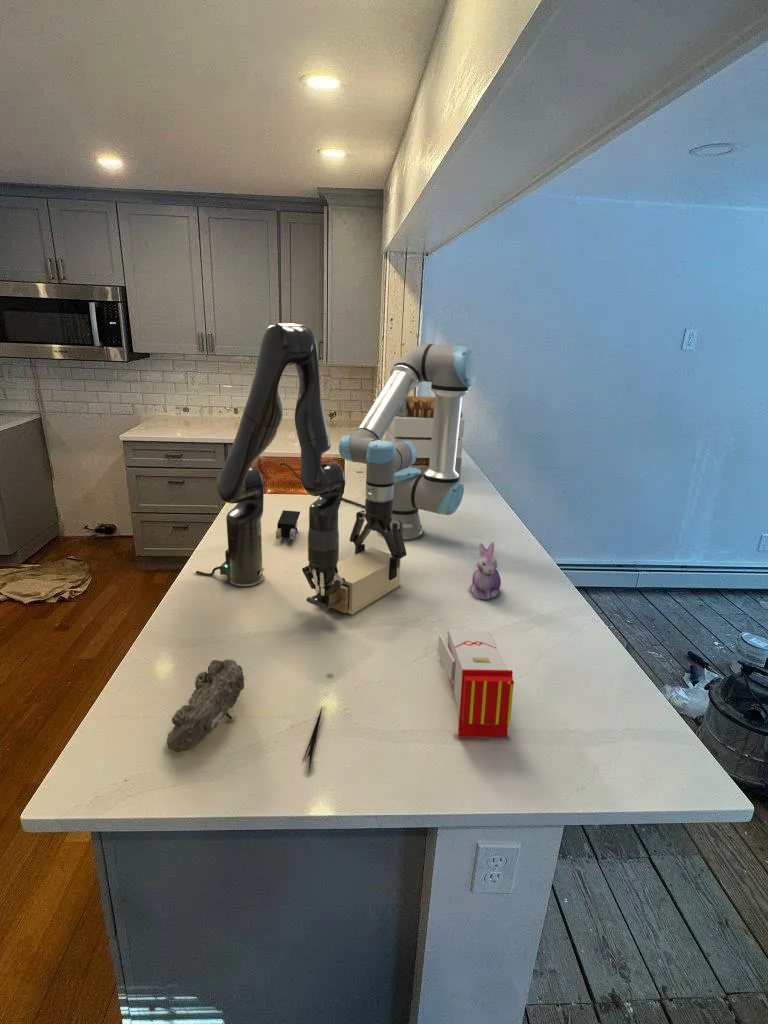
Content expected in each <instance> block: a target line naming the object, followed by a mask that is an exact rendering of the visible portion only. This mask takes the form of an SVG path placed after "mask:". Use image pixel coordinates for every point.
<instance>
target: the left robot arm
mask: <svg viewBox="0 0 768 1024" xmlns="http://www.w3.org/2000/svg"><path fill="white" fill-rule="evenodd" d="M318 354H319V353H318V346H317V341H316V337H315V334H314V332H313V330H312V328H311V327H310V326H308V325H307V324H304V323H301V322H299V323H298V322H275V323H272V324H270V325H269V326H268V327H267V329H266V330H265V332H264V334H263V337H262V340H261V344H260V349H259V352H258V358H257V363H256V369H255V373H254V377H253V380H252V384H251V386H250V387H251V388H250V391H249V394H248V398H247V401H246V403H245V406H244V408H243V412H242V414H241V418H240V421H239V426H238V429H237V432H236V434H235V438H234V440H233V442H232V446H231V448H230V451H229V453H228V455H227V458H226V460H225V462H224V463H223V466H222V468H221V471H220V474H219V475H218V479H217V493H218V495H219V497H220V499H221V500H222V501H223V502H224V503H226V504H236V505H235V506H234V507H233V508H232V509H231V510H229V511H228V513H227V514H226V520H225V521H226V536H227V549H226V550H225V551H224V555H225V561H224V562H223V563H221V565H219V566H216V567H213V569H212V570H211V572H210V573H209V572H208V573H207V572H203V571H199V570H196V571H195V574H198V575H201V576H206V577H211V576H214V575H215V572H216V571H217V570H219V574H220V576H226V582H227V583H230V584H232V585H233V586H235V587H242V588H243V587H244V588H245V587H253V586H256V585H259V584H260V583H262V582H263V580H264V571H265V566H263V543H262V539H263V537H262V517H263V514H264V499H265V498H264V497H265V495H264V493H265V487H264V486H265V485H264V478H263V475H262V472H261V471H260V470H259V468H258V467H257V466H255V465H253V464H254V463H255V461H256V460H257V459H258V458H259V457H260V456H261V455H262V454H263V453H264V452H265V451H266V449H268V447H269V446H271V444H272V443H273V441H274V439H275V438H276V435H277V433H278V431H279V428H280V425H281V422H282V420H283V416H284V415H283V413H284V412H283V410H284V409H283V403H282V399H281V396H280V393H279V387H280V386H279V385H280V382H281V378H282V375H283V373H284V371H285V369H286V367H287V366H295V370H296V373H297V376H298V394H297V400H296V405H295V409H294V425H295V430H296V434H297V439H298V443H299V447H300V478H301V480H300V482H301V486H302V488H303V490H304V491H305V492H306V493H307V494H308V495H309V496H311V497H318V498H317V499H316V500H315V501H314V502H312V503H311V504H310V505H309V507H308V532H307V560H308V564H307V565H306V566H304V567H302V568H301V571H302V573H303V575H304V577H305V579H306V581H307V583H308V585H309V587H310V589H312V590H315V593H316V595H317V598H316V600H317V601H320V602H322V603H324V604H327V605H328V604H329V595H331V594H332V593H335V592H336V591H337V590H338V589H339V588H340V587H341V586H342V584H343V583H344V582H345V579H344V578H340V576H339V575H338V569H337V563H339V557H340V556H339V555H340V532H339V509H340V507H341V503H342V500H341V499H342V498H343V495H344V491H345V487H346V474H345V473H346V472H345V471H344V468H343V467H342V466H341V464H339V463H338V462H335V461H327V462H323V463H322V460H323V459H322V458H323V455H324V454H325V453H327V452H328V451H329V450H330V449H331V439H330V435H329V431H328V428H327V422H326V417H325V413H324V408H323V403H322V401H323V400H322V391H321V380H320V379H321V378H320V368H319V367H320V366H319V355H318ZM333 579H334V580H333ZM332 583H333V585H332ZM331 585H332V586H331Z"/></svg>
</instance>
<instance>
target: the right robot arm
mask: <svg viewBox="0 0 768 1024" xmlns="http://www.w3.org/2000/svg"><path fill="white" fill-rule="evenodd" d="M477 373H478V363H477V358H476V355H475V353H474V351H473V350H472V349H471V348H470V347H467V346H461V345H449V344H433V343H423V344H419V345H417V346H414V347H413V348H411V349H409V350H408V351H406V352H405V353H404V354H403V355H402V356H401V357H399V359H398V360H397V361H396V362H395V363H394V365H393V366H392V367H391V369H390V377H389V379H388V380H387V382H386V384H385V385H384V387H383V388H382V390H381V391H380V393H379V395H378V396H377V398H376V400H374V402H373V404H372V406H371V408H370V409H369V411H368V412H367V413H366V415H365V417H364V419H363V420H362V421H361V423H360V425H359V426H358V428H357V429H356V431H355V432H354V434H352V433H351V434H345V435H343V436H342V437H341V439H340V440H339V444H338V453H339V456H340V457H341V458H342V459H343V460H346V461H349V462H352V463H358V464H365V465H366V469H365V470H366V475H365V476H366V479H365V500H364V504H361V503H358V502H356V501H353V500H351V499H348V498H345V497H342V499H341V501H344V502H347V503H350V504H352V505H355V506H358V507H361V508H364V510H360V511H358V512H356V514H355V522H354V524H353V528H352V530H351V534H350V537H349V538H348V539H349V542H350V543H353V544H354V555H356V554H358V553H360V552H362V551H364V550H366V544H365V540H366V539H367V538H368V536H369V534H370V533H371V532H372V531H373V532H377V533H379V534H380V535H381V536H382V537H383V540H384V541H385V543H386V546H387V548H388V551H389V554H391V555H392V557H391V558H390V565H389V580H392V579H394V578H396V577H397V568H399V564H400V565H401V563H400V558H401V559H402V558H404V557H406V556H407V554H408V553H407V550H406V545H405V541H410V540H415V539H418V538H420V537H421V536H422V535H423V525H422V524H421V518H420V515H419V510H421V511H426V512H429V513H435V514H438V515H445V516H451V515H453V514H454V513H456V511H457V510H458V509H459V507H460V505H461V502H462V500H463V497H464V493H465V487H464V486H465V485H464V483H463V482H461V481H460V482H459V474H458V473H457V472H456V471H455V465H456V455H457V445H458V435H459V426H460V416H461V412H462V406H463V398H464V396H465V395H466V394H467V393H468V392H469V388H470V387H473V386H474V384H475V383H476V378H477V375H478V374H477ZM422 382H427V383H431V385H430V386H431V387H430V389H431V391H432V392H433V393H434V397H435V405H434V417H433V428H432V439H431V451H430V462H429V465H428V468H427V469H426V470H424V471H423V474H422V470H421V468H419V467H414V466H410V465H412V464H413V463H414V462H415V461H416V459H417V450H416V448H415V446H414V445H413V444H412V443H411V442H409V441H399V442H390V441H385V439H384V440H383V437H384V435H386V431H387V429H388V427H389V426H390V424H391V422H392V421H393V419H394V417H395V416H396V414H397V412H398V411H399V409H400V407H401V406H402V404H403V402H404V401H405V399H406V397H407V396H409V394H410V393H411V391H412V390H414V389H416V388H417V387H418V385H419V384H420V383H422ZM278 466H279V467H281V466H285V467H287V468H288V469H289V470H291V472H292V474H293V475H294V476H295V477H296V478H297V479H299V481H301V476H299V475H298V474H297V473H296V471H295V470H294V469H293V468H292V466H289V464H287V463H285V462H281V463H279V465H278ZM365 521H366V524H365V525H364V523H365ZM363 525H364V527H363ZM362 528H363V530H362Z"/></svg>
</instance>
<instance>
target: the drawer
mask: <svg viewBox="0 0 768 1024" xmlns="http://www.w3.org/2000/svg"><path fill="white" fill-rule="evenodd" d="M332 585H333V583H332ZM332 585H331V586H332ZM305 600H306V602H307V603H309V604H311V605H314V606H316V607H318V608H320V609H322V610H325V611H330V609H333V610H336V611H338V612H341V613H342V614H348V613H347V612H348V607H349V586H348V585H345V584H342V586H341V587H340V588H339V589H338V590H337V591H336V592H335V593H332V594H331V595H329V604H328V605H327V604H324V603H322V602H320V601H317V594H314V595H313V596H311V597H310V596H307V598H306V599H305Z"/></svg>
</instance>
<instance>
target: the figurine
mask: <svg viewBox="0 0 768 1024" xmlns="http://www.w3.org/2000/svg"><path fill="white" fill-rule="evenodd" d="M478 550H479V558H478V560H477V563H476V566H477V569H476V570H475V571H473V574H472V577H471V587H470V588H471V589H470V590H471V593H472V594H473V595H474V597H475V598H477V599H481V600H489V599H490V598H492V599H493V598H495V597H497V596H498V594H499V592H500V588H501V586H502V585H501V584H502V580H501V575H500V573H499V570H498V569H497V568H498V562H497V560H496V557H495V555H494V551H495V542H494V541H491V542H490V543H489V545H488V546H487V548H486V547H485V545H484V544H483V543H482V542H479V544H478Z"/></svg>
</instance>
